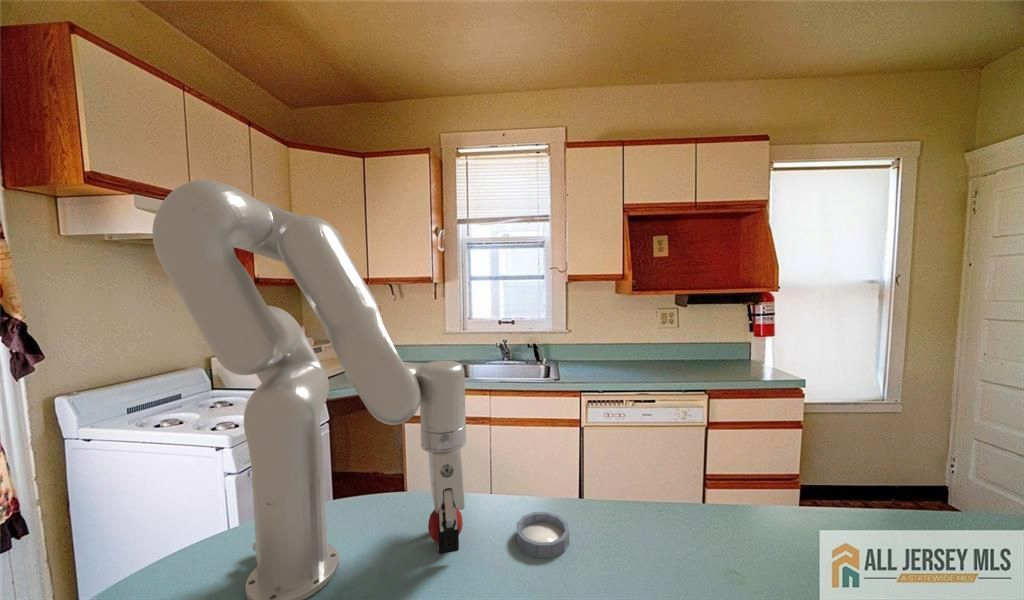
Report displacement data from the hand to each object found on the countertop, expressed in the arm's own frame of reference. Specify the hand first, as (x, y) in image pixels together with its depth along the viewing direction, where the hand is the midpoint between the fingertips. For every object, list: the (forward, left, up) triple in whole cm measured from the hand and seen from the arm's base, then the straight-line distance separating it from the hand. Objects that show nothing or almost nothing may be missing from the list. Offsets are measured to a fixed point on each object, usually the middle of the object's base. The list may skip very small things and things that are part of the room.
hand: (446, 534), depth 68 cm
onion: (0, 0, -2) cm, 2 cm away
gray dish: (+14, +9, -2) cm, 17 cm away
